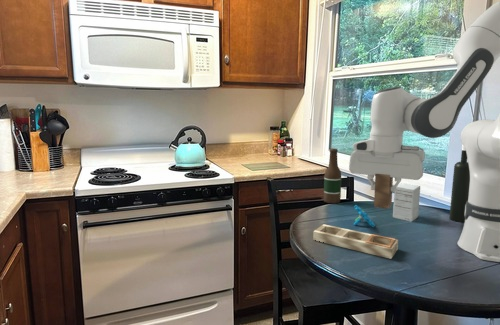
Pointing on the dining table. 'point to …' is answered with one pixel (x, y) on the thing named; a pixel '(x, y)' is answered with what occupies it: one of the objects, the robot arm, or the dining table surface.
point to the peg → (383, 191)
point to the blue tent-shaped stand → (362, 217)
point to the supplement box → (406, 202)
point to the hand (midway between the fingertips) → (383, 191)
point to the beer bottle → (332, 180)
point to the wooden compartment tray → (357, 240)
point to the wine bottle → (460, 188)
